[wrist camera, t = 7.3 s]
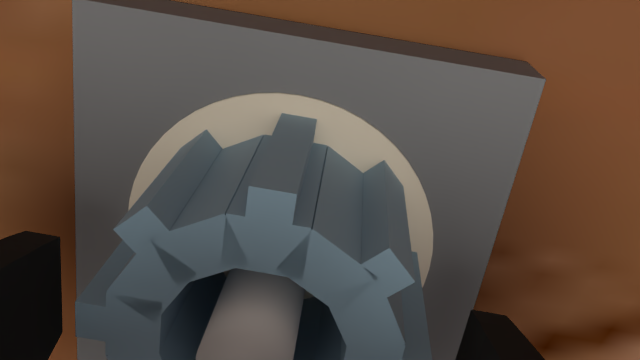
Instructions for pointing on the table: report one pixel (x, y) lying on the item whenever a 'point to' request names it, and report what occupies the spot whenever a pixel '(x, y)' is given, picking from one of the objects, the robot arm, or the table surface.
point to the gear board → (331, 129)
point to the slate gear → (262, 251)
